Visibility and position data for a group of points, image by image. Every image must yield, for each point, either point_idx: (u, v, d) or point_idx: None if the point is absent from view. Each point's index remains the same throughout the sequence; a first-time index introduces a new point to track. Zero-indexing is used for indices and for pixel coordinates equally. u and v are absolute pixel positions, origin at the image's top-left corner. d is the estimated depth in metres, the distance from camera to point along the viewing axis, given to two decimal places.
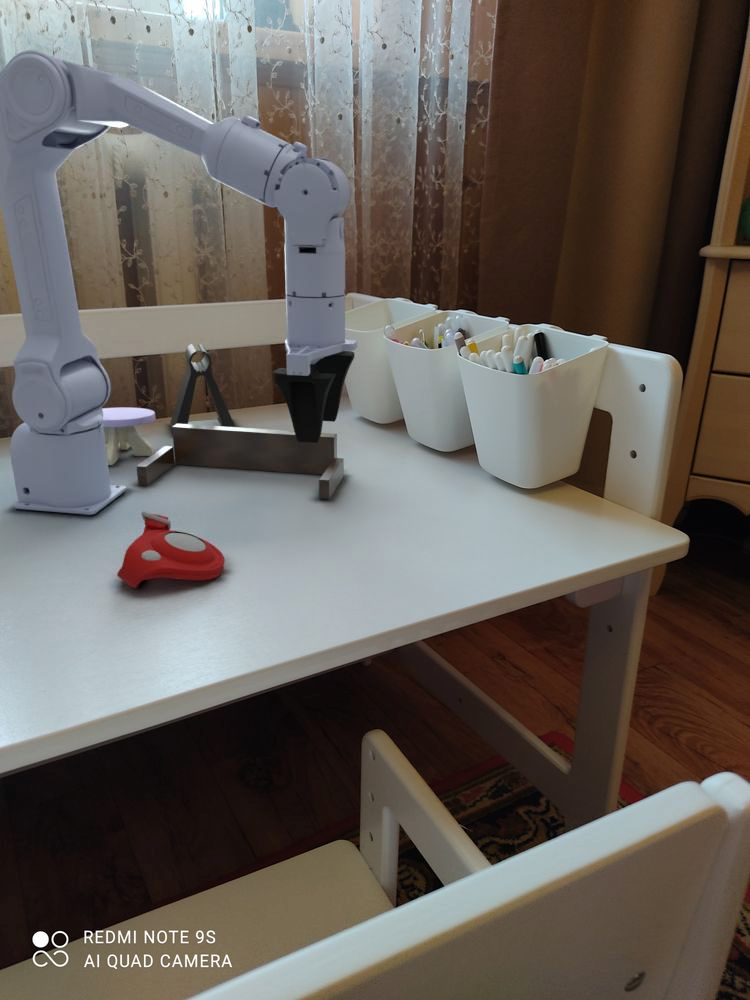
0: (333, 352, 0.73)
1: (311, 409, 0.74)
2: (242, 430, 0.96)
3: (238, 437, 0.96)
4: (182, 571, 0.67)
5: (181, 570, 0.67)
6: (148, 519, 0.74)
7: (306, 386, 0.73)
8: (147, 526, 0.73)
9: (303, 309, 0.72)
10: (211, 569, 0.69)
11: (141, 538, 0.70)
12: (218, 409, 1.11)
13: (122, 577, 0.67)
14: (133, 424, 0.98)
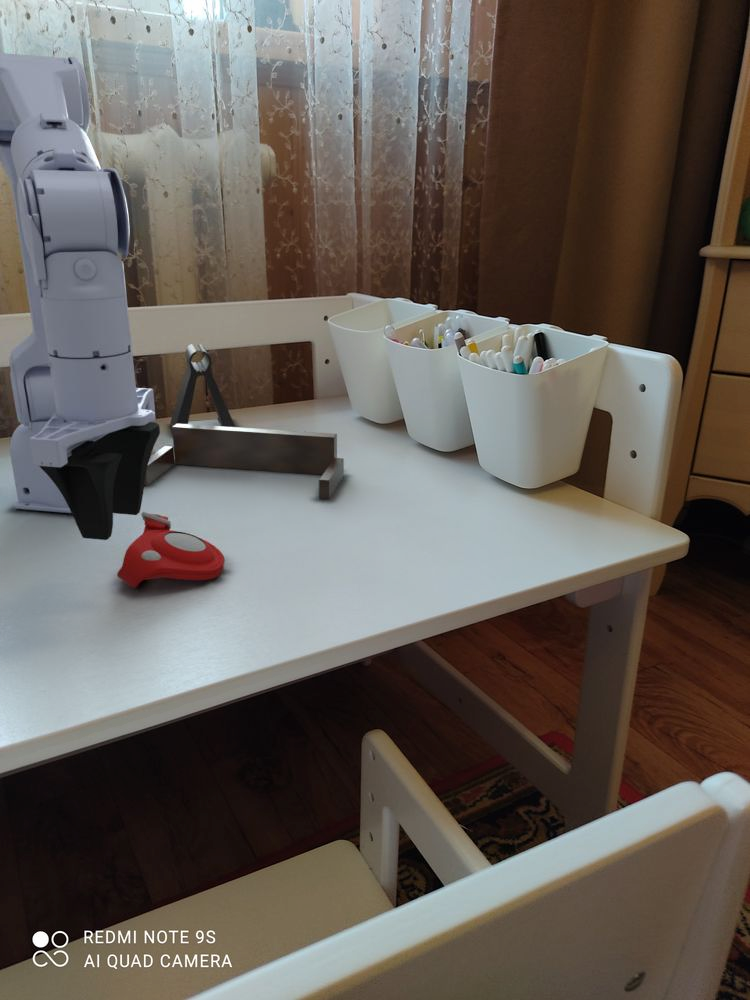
0: (111, 430, 0.55)
1: (94, 498, 0.56)
2: (242, 430, 0.96)
3: (238, 437, 0.96)
4: (182, 571, 0.67)
5: (181, 570, 0.67)
6: (148, 519, 0.74)
7: (84, 469, 0.56)
8: (147, 526, 0.73)
9: (65, 373, 0.53)
10: (211, 569, 0.69)
11: (141, 538, 0.70)
12: (218, 409, 1.11)
13: (122, 577, 0.67)
14: None
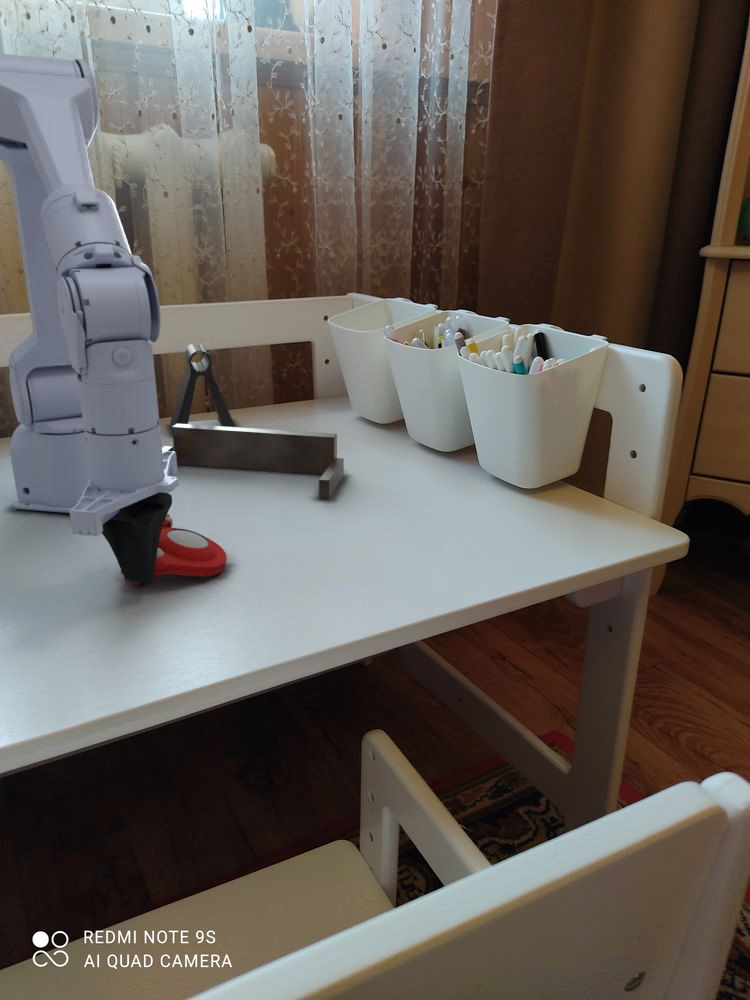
0: (141, 498, 0.60)
1: (137, 547, 0.64)
2: (242, 430, 0.96)
3: (238, 437, 0.96)
4: (185, 567, 0.68)
5: (184, 566, 0.68)
6: None
7: (129, 522, 0.63)
8: None
9: (100, 447, 0.59)
10: (214, 565, 0.70)
11: None
12: (218, 409, 1.11)
13: None
14: None
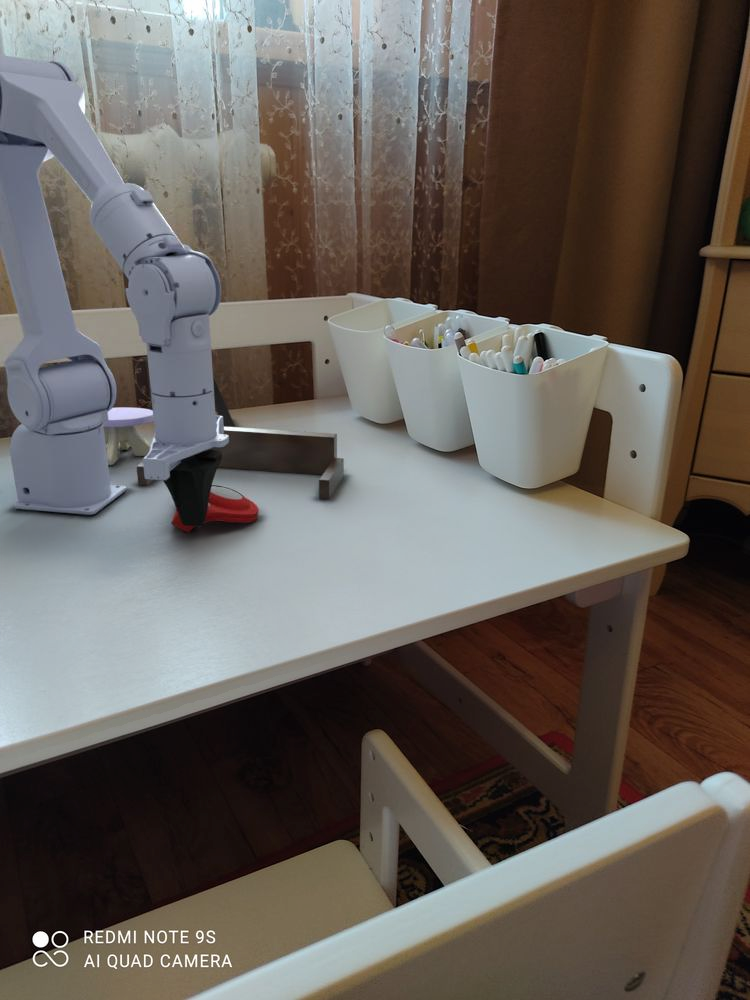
0: (199, 451, 0.71)
1: (193, 495, 0.75)
2: (242, 430, 0.96)
3: (238, 437, 0.96)
4: (230, 515, 0.79)
5: (229, 514, 0.79)
6: None
7: (187, 473, 0.74)
8: None
9: (165, 407, 0.70)
10: (251, 513, 0.81)
11: None
12: (218, 409, 1.11)
13: (178, 523, 0.78)
14: (133, 424, 0.98)
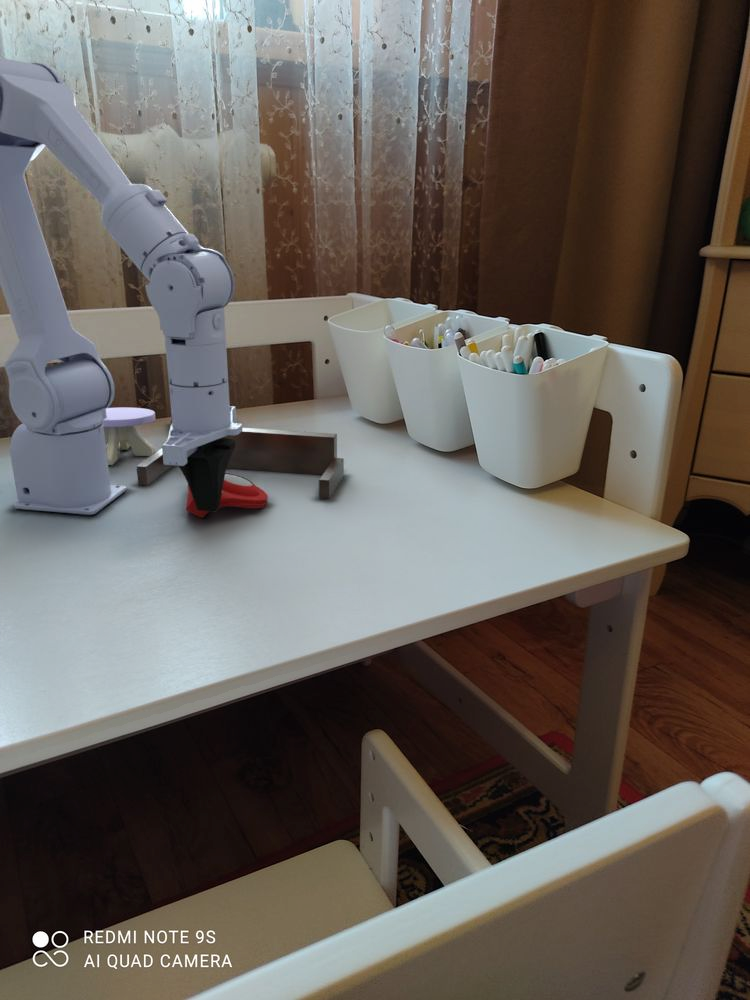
0: (214, 438, 0.74)
1: (208, 481, 0.78)
2: (242, 430, 0.96)
3: (238, 437, 0.96)
4: (242, 500, 0.82)
5: (241, 500, 0.82)
6: None
7: (202, 460, 0.78)
8: None
9: (183, 397, 0.73)
10: (262, 499, 0.85)
11: None
12: None
13: (192, 509, 0.82)
14: (133, 424, 0.98)
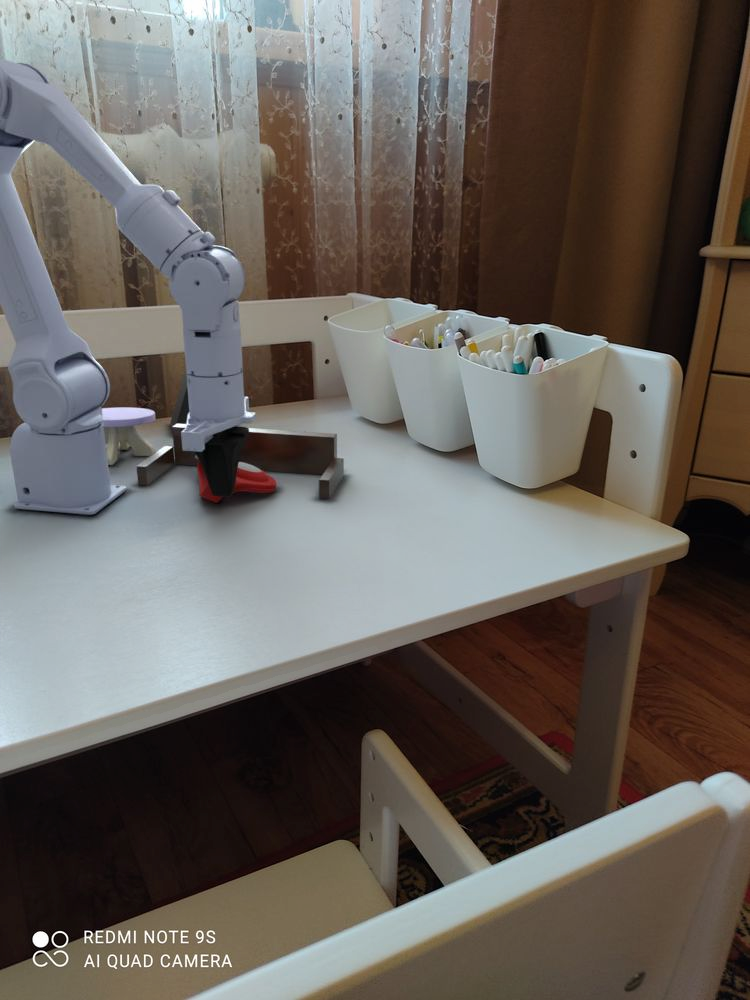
0: (230, 426, 0.78)
1: (223, 467, 0.82)
2: None
3: None
4: (254, 485, 0.87)
5: (254, 485, 0.87)
6: None
7: (217, 447, 0.82)
8: None
9: (200, 387, 0.77)
10: (272, 484, 0.89)
11: None
12: None
13: (207, 494, 0.86)
14: (133, 424, 0.98)
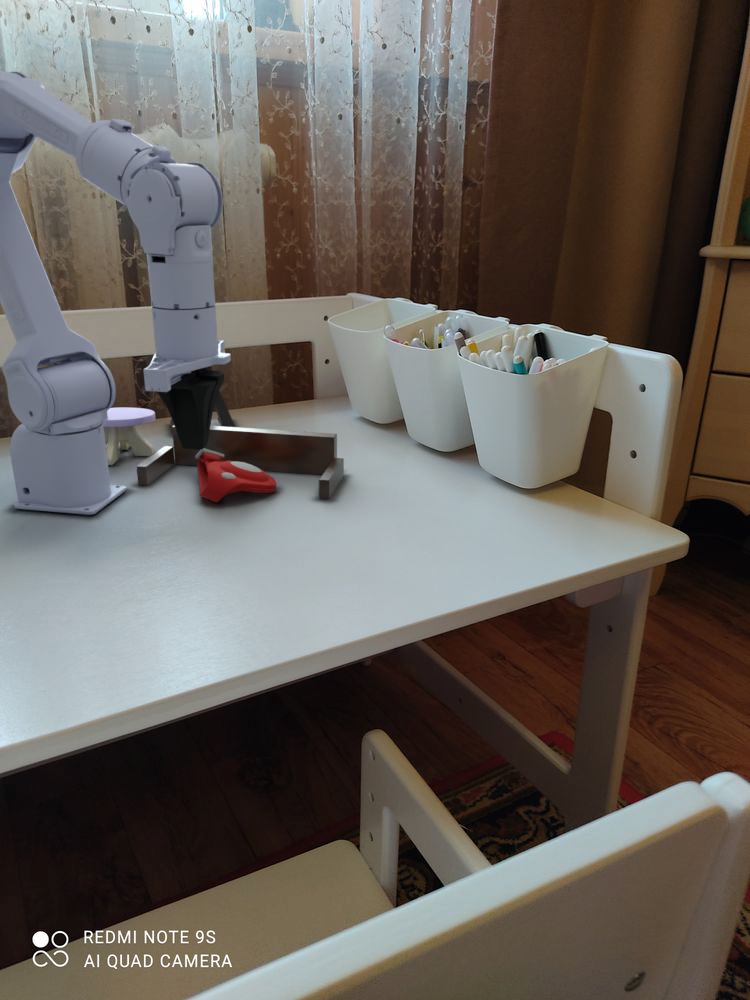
0: (201, 366, 0.70)
1: (194, 416, 0.74)
2: (242, 430, 0.96)
3: (238, 437, 0.96)
4: (255, 485, 0.87)
5: (254, 485, 0.87)
6: (207, 454, 0.92)
7: (187, 393, 0.73)
8: (207, 459, 0.92)
9: (166, 321, 0.68)
10: (272, 484, 0.89)
11: (212, 465, 0.88)
12: (218, 409, 1.11)
13: (207, 494, 0.86)
14: (133, 424, 0.98)
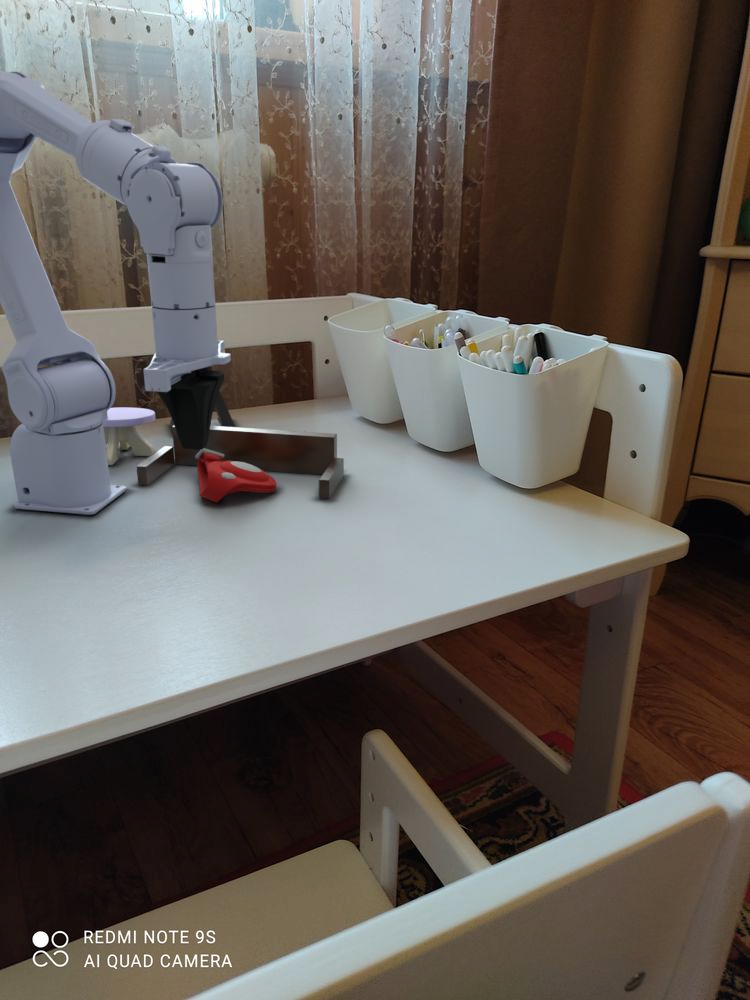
0: (201, 366, 0.70)
1: (194, 416, 0.74)
2: (242, 430, 0.96)
3: (238, 437, 0.96)
4: (255, 485, 0.87)
5: (254, 485, 0.87)
6: (207, 454, 0.92)
7: (187, 393, 0.73)
8: (207, 459, 0.92)
9: (166, 321, 0.68)
10: (272, 484, 0.89)
11: (212, 465, 0.88)
12: (218, 409, 1.11)
13: (207, 494, 0.86)
14: (133, 424, 0.98)
